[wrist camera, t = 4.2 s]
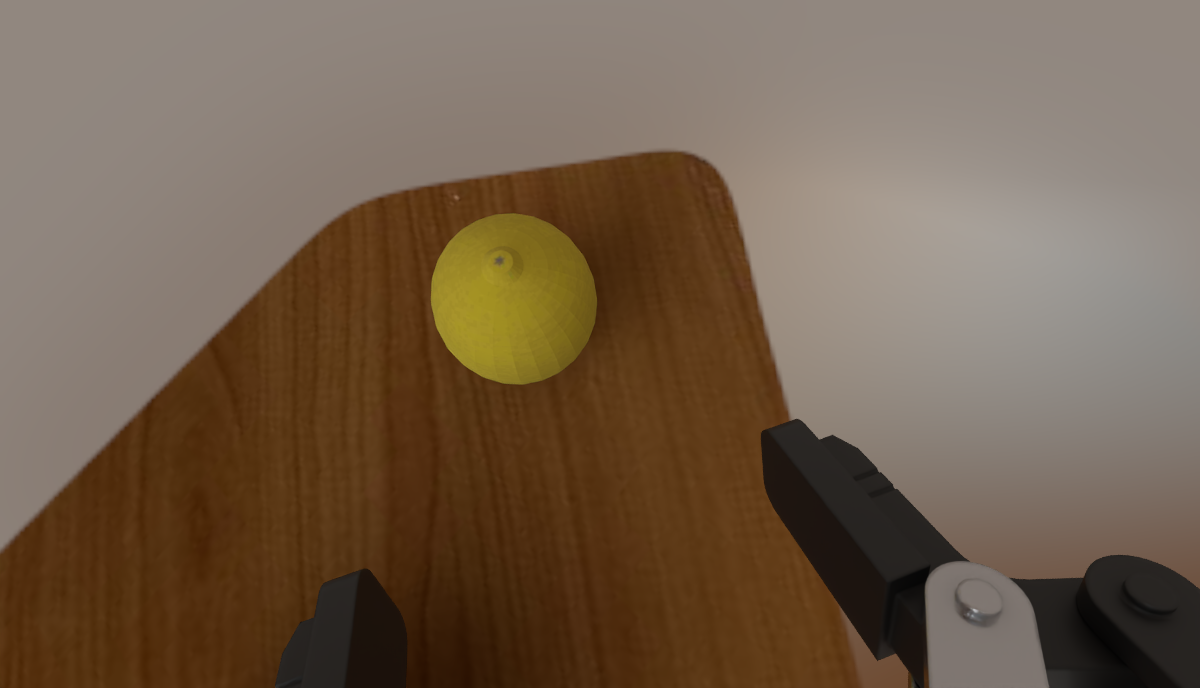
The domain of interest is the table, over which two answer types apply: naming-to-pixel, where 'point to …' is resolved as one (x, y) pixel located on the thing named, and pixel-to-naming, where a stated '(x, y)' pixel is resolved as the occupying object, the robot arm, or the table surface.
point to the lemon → (513, 298)
